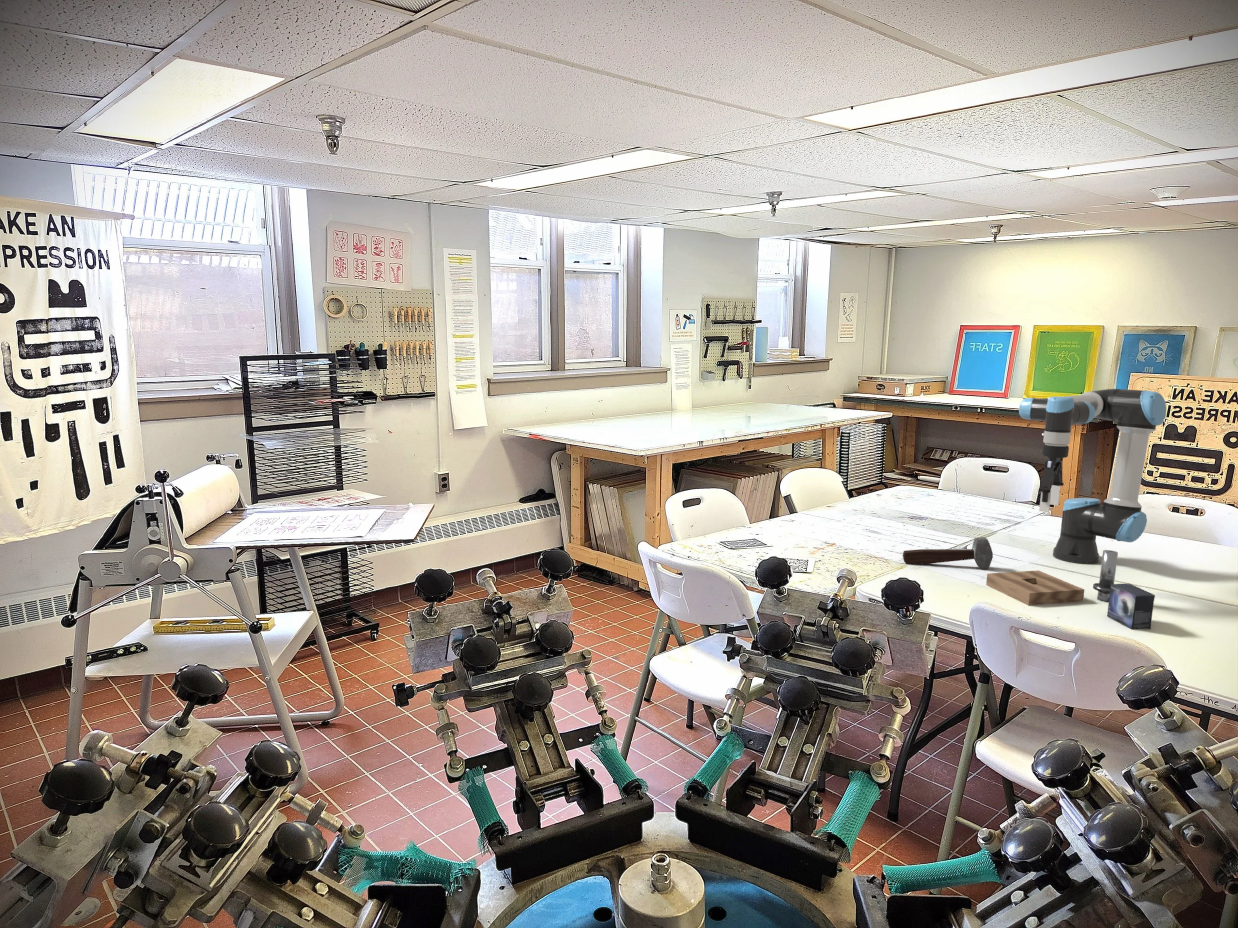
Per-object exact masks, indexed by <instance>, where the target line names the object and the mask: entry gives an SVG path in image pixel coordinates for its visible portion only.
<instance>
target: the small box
mask: <svg viewBox="0 0 1238 928" xmlns="http://www.w3.org/2000/svg"><path fill="white" fill-rule="evenodd" d="M1155 597H1156V595H1155V594H1154V593H1151V592H1149V591H1147V590H1145V589H1143V588H1140V587H1138V586H1136V585H1134V584H1131V583H1127V582H1126V583H1114V584H1111V587H1110V595H1109V602H1108V605H1107V606H1108V607H1107V612H1106V613H1107V615H1106V617H1107V618H1110V620H1113V621H1115V622H1117V623H1119V624H1121V625H1123V626H1125V627H1126V628H1128V629H1130V630H1150V629H1152V620H1153V619H1152V618H1153V611H1154V604H1155Z"/></svg>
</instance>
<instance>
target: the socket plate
mask: <svg viewBox="0 0 1238 928" xmlns="http://www.w3.org/2000/svg"><path fill="white" fill-rule="evenodd" d="M985 585H986V586H987V587H989V588H992V589H994V590H996V591H997V592H1000V593H1003V594H1004V595H1006V596H1007V597H1011V599H1012V598H1013V599H1014V600H1017V601H1019V602H1020V603H1023V604H1024V605H1027V606H1037V605H1038V606H1040V605H1041V606H1042V605H1052V604H1053V605H1054V604H1064V603H1065V604H1067V603H1080V602H1081V603H1082V602H1084V598H1085V596H1084V595H1085V589H1084V588H1082V587H1079V586H1077V585H1075V584H1072V583H1070V582H1068V581H1066V580H1063V579H1061V578H1058V577H1055V576H1053V575H1051V574H1048V573H1046V572H1044V571H1041V570H1039V569H1038V570H1027V571H1026V570H1025V571H1024V570H1022V571H1008V572H1006V571H1005V572H990V573H989V572H988V573H986V583H985Z"/></svg>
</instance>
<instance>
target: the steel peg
mask: <svg viewBox="0 0 1238 928" xmlns="http://www.w3.org/2000/svg"><path fill="white" fill-rule="evenodd" d="M1118 555H1119V552H1117V551H1115V550H1111V549H1104V550H1102V556H1101V565H1100V573H1099V582H1096V583H1093V586H1092V589H1093V590H1095V591H1097V598H1096V600H1098V601H1099V602H1104V603H1109V595H1110V587H1111V584H1115V579H1116V572H1117V564H1118Z"/></svg>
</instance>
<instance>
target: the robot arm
mask: <svg viewBox="0 0 1238 928" xmlns="http://www.w3.org/2000/svg"><path fill="white" fill-rule="evenodd" d="M1018 413H1019V416H1020V418H1021V419H1024V420H1029V421H1039V422H1045V423H1044V431H1043V433H1041V437H1042V436H1043V440H1042V441H1043V443H1044V444H1042V449H1041V455H1042V456H1044V457H1047V458H1048V459H1047V460H1045V462H1044V469H1043V473H1042V479H1041V482H1040V486H1039V488H1038V492H1040V499H1039V500H1040V501H1039V512H1043V513H1050V507H1051V505H1053V506H1059V505H1060V503H1059V502H1060V497H1061V496H1060V495H1061V487H1063V486H1064V483H1065V482H1063V481H1064V480H1063V461H1064V459H1065V458H1067V457H1069V450H1070V446H1069V445H1070V443H1071V442H1070V441H1071V435H1072V426H1076V425H1081V426H1082V425H1084V424H1085V425H1086V424H1089V423H1090V422H1092V421H1093V419H1101V420H1105V421H1112V422H1117V423H1116V428H1117V429H1118V430H1119V431H1120V435H1119V440H1118V445H1117V452H1116V458H1115V464H1114V469H1113V474H1112V475H1113V476H1112V480H1111V486H1110V487H1111V488H1110V493H1109V497H1107V498H1106V499H1104V500H1103V504H1101V500H1100V499H1099V498H1093V497H1075V498H1067V499H1066V500H1065V501H1064V503H1063V507H1062V514H1061V515H1062V516H1061V523H1060V525H1061V526H1060V534H1059V537H1058V540H1057V542H1056V545H1055V547H1053V549H1052V550H1053V551H1052V556H1053V557H1054V558H1056V559H1058V560H1062V561H1065V562H1068V563H1069V562H1070V563H1076V564H1083V565H1084V564H1087V565H1088V564H1090V565H1091V564H1097V563H1099V561H1100V553H1099V552H1098V551H1099V550H1098V545H1097V537H1101V538H1106V539H1111V540H1114V541H1115V540H1116V541H1117V542H1125V543H1134V542H1135V541H1137V540H1139V538H1140V537H1141V536H1142V535H1143V533H1144V531H1145V529H1146V527H1147V524H1148V523H1147V522H1148V519H1147V514H1146V512H1143V511H1142V507H1143V506H1142V505H1141V504H1140V502H1139V495H1140V489H1141V483H1142V478H1143V473H1144V466H1145V461H1146V455H1147V451H1148V444H1149V439H1150V435H1151V434H1152V433H1153V432H1155V431H1156V429H1157V426H1160V425H1162V424H1163V423H1164V421H1165V419H1166V416H1167V404H1166V400H1165V398H1164V397H1163V395H1162V394H1161V393H1160V392H1157V391H1151V390H1141V389H1140V390H1139V389H1123V388H1122V389H1121V388H1108V389H1107V388H1106V389H1100V390H1099V389H1098V390H1092V391H1091V390H1090V391H1086V392H1082V394H1079V395H1068V396H1050V397H1047V398H1045V397H1044V398H1043V397H1042V398H1035V397H1026V398H1024V399H1023V400H1021V401H1020V403H1019V409H1018Z"/></svg>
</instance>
